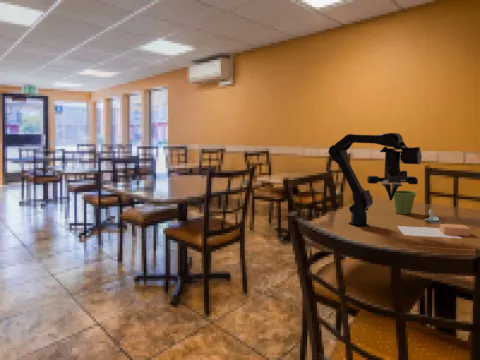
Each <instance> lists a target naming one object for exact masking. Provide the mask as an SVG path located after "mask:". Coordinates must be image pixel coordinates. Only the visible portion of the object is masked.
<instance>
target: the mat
mask: <svg viewBox="0 0 480 360" xmlns="http://www.w3.org/2000/svg"><path fill="white" fill-rule="evenodd" d="M396 227H397V228H398V229H399V231H400V232H401V233H402V235H403V236H412V237H413V236H415V237H428V238H429V237H430V238H447V239H448V238H449V239H463V238H462V237H461V236H460V235H444V234H443V233H441V232H440V231H439V229H440V227H424V226H423V227H421V226H405V225H403V226H402V225H401V226H400V225H396Z"/></svg>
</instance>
